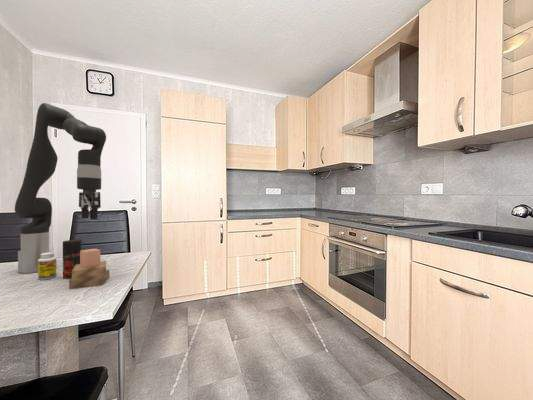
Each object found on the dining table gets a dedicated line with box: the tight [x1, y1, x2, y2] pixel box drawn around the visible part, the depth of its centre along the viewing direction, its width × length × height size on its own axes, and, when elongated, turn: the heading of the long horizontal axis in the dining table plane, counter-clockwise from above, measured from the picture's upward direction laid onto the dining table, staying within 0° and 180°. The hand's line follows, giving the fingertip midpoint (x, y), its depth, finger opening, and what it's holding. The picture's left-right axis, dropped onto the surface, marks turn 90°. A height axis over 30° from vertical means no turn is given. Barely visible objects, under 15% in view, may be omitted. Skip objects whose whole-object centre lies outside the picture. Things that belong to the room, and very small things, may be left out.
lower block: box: [68, 269, 110, 290], centre depth 90 cm, size 10×10×4 cm
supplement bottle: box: [37, 251, 57, 281], centre depth 95 cm, size 6×6×10 cm
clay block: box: [80, 248, 101, 268], centre depth 90 cm, size 5×5×6 cm
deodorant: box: [62, 239, 82, 280], centre depth 97 cm, size 6×6×15 cm
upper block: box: [72, 260, 107, 281], centre depth 90 cm, size 10×10×4 cm
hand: (89, 218), depth 90 cm, fingers open, 8 cm apart
